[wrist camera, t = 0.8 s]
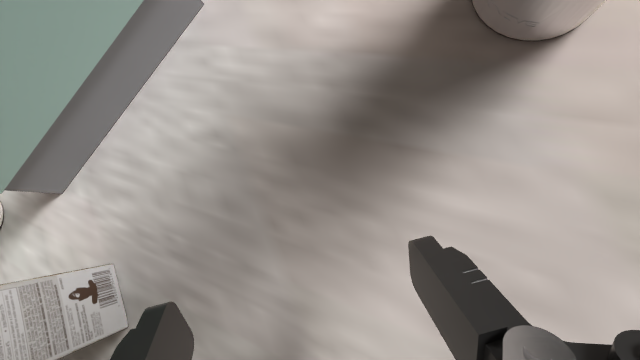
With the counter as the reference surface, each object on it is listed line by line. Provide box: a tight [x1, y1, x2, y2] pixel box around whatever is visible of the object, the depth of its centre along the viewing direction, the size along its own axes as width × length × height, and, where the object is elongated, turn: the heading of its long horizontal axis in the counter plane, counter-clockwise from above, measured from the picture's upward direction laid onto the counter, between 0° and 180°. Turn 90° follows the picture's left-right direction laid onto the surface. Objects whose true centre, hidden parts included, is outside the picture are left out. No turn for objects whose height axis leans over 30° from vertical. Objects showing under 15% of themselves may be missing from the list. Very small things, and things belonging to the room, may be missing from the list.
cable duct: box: [4, 0, 204, 194], centre depth 29 cm, size 24×15×5 cm, turn 141°
